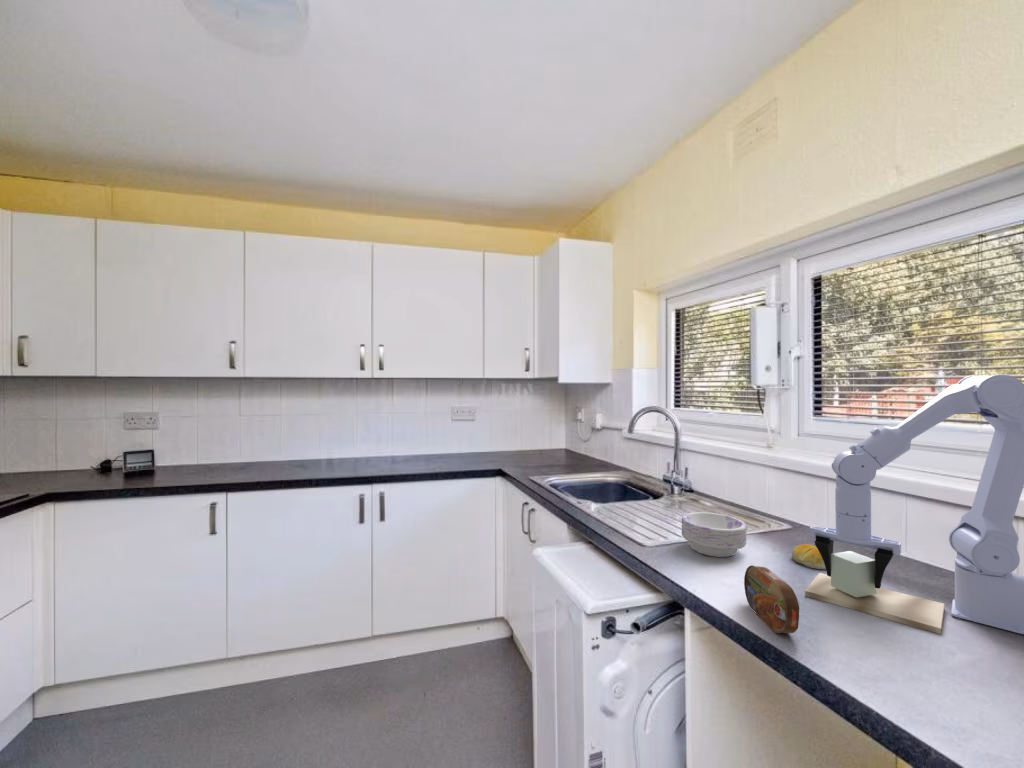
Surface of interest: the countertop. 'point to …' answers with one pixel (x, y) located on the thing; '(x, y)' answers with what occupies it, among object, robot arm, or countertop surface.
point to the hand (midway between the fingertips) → (853, 580)
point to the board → (882, 604)
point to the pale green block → (853, 573)
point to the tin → (771, 599)
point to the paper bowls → (714, 533)
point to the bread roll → (808, 556)
